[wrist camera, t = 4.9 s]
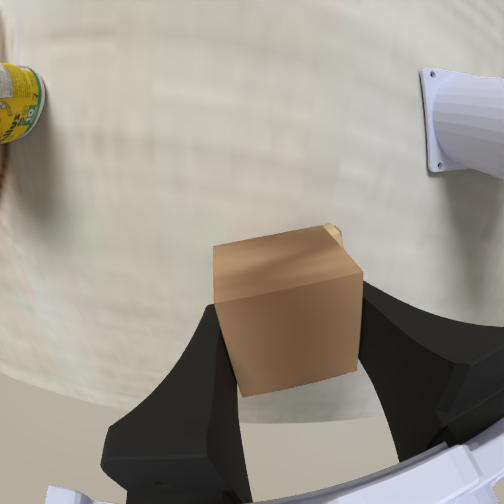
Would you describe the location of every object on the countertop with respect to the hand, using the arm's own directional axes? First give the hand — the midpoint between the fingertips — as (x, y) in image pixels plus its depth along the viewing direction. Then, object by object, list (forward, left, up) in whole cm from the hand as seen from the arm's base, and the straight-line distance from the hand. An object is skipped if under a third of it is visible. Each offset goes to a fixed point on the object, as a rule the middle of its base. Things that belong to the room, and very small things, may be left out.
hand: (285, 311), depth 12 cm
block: (0, 0, -2) cm, 2 cm away
